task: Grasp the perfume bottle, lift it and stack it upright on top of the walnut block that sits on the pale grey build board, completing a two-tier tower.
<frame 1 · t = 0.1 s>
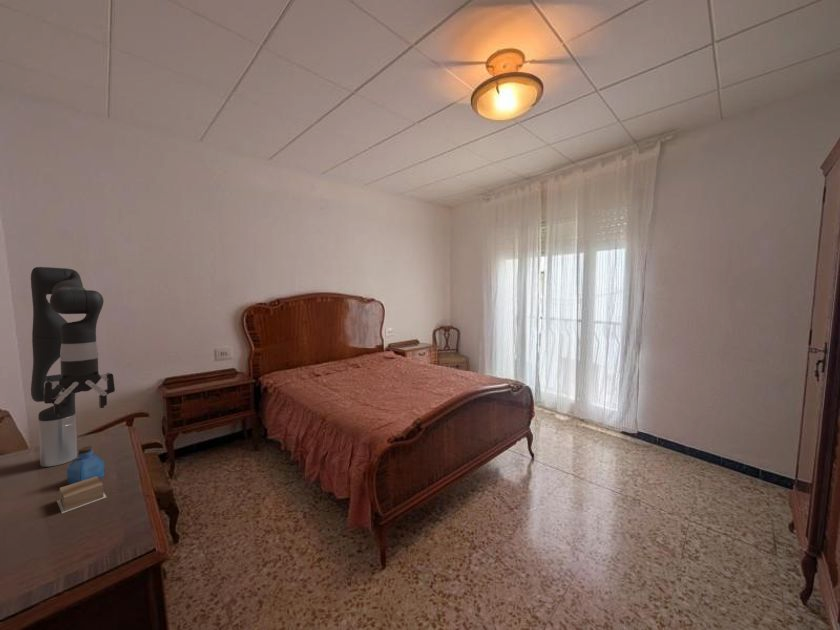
hand: (81, 411, 93), 29 cm above the table, fingers open, 8 cm apart
perfume bottle: (86, 483, 107), on the table
walnut block: (82, 498, 96), point 1 cm above the table, touching build board
build board: (82, 502, 96), on the table
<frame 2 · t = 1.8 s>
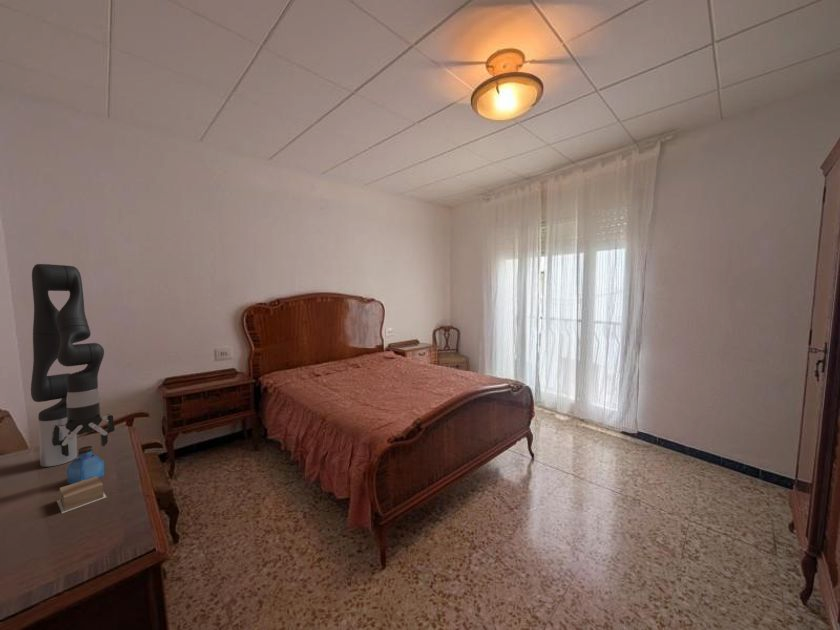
hand: (85, 450, 106), 11 cm above the table, fingers open, 8 cm apart
nothing on the table moved.
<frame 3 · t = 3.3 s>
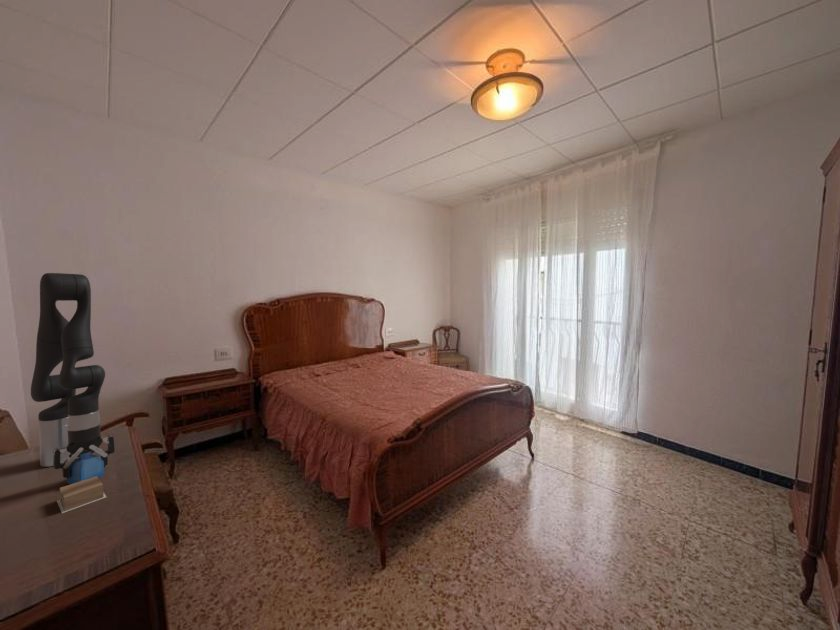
hand: (85, 472, 107), 4 cm above the table, fingers closed on perfume bottle, 8 cm apart
perfume bottle: (86, 483, 107), on the table, touching gripper
everything else where it was.
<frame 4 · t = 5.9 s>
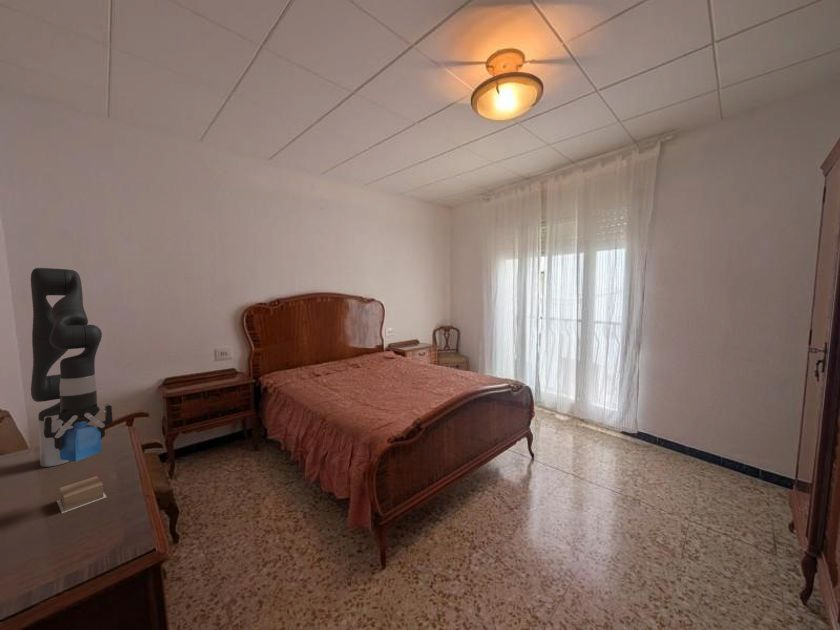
hand: (80, 444, 96), 18 cm above the table, fingers closed on perfume bottle, 8 cm apart
perfume bottle: (81, 456, 96), point 15 cm above the table, touching gripper
everything else where it was.
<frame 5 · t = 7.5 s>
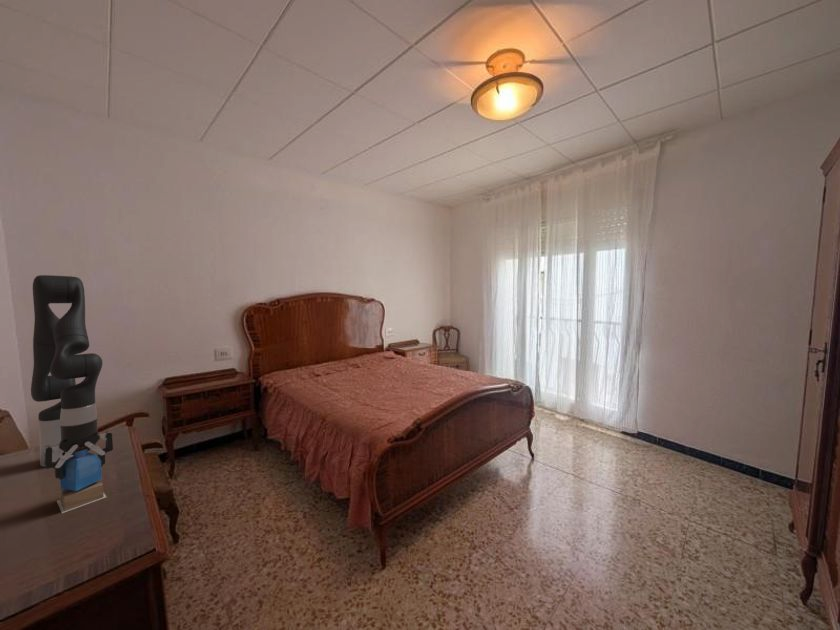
hand: (81, 472, 96), 10 cm above the table, fingers closed on perfume bottle, 8 cm apart
perfume bottle: (81, 484, 96), point 6 cm above the table, touching gripper
everything else where it was.
when the fingers open (9 cm above the table, at t = 8.6 s): perfume bottle stays where it is, resting on walnut block.
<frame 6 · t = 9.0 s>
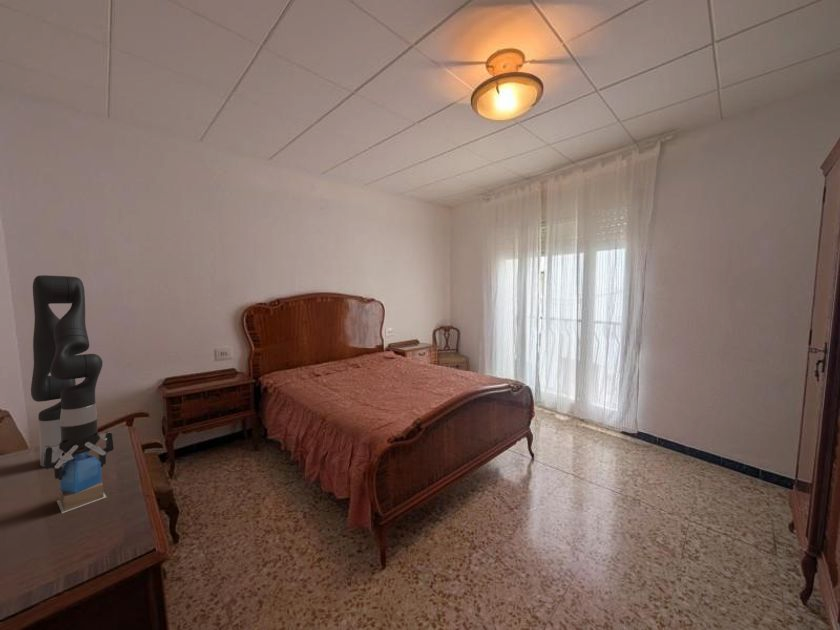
hand: (81, 472, 96), 10 cm above the table, fingers open, 8 cm apart
perfume bottle: (81, 486, 96), point 5 cm above the table, touching walnut block
walnut block: (82, 498, 96), point 1 cm above the table, touching build board, perfume bottle
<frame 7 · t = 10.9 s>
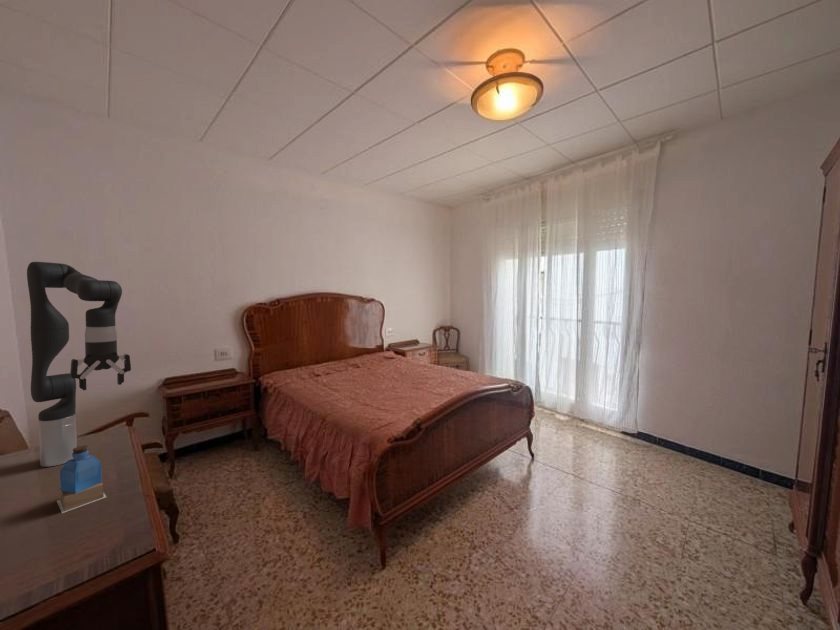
hand: (102, 387, 107), 33 cm above the table, fingers open, 8 cm apart
nothing on the table moved.
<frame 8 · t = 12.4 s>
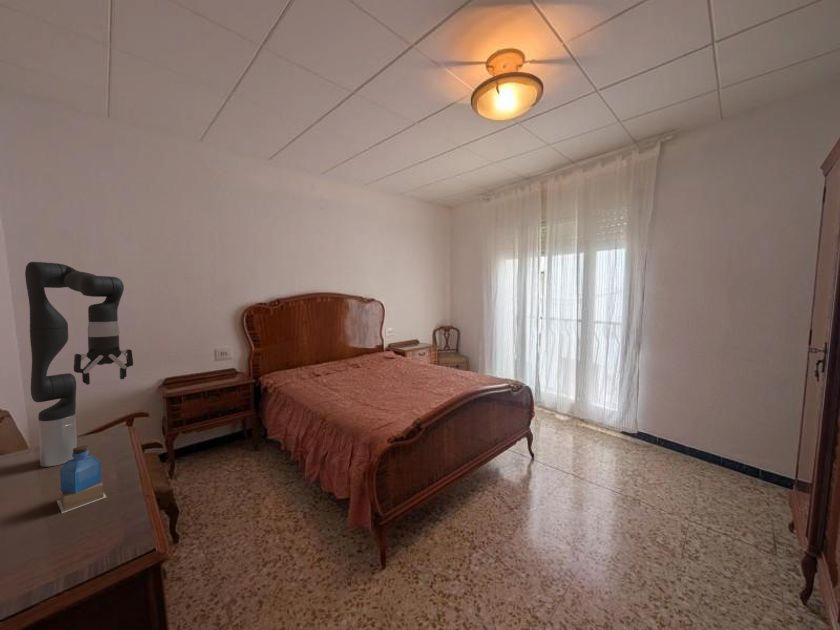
hand: (105, 381, 108), 34 cm above the table, fingers open, 8 cm apart
nothing on the table moved.
at the end: perfume bottle inside the target area on the walnut block (0.1 cm from its centre), point 3.8 cm above the walnut block's base; perfume bottle tilted 0°; the gripper is holding nothing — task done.
